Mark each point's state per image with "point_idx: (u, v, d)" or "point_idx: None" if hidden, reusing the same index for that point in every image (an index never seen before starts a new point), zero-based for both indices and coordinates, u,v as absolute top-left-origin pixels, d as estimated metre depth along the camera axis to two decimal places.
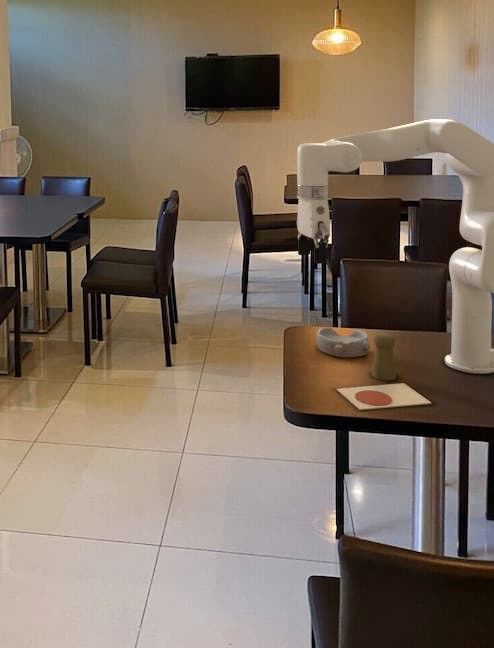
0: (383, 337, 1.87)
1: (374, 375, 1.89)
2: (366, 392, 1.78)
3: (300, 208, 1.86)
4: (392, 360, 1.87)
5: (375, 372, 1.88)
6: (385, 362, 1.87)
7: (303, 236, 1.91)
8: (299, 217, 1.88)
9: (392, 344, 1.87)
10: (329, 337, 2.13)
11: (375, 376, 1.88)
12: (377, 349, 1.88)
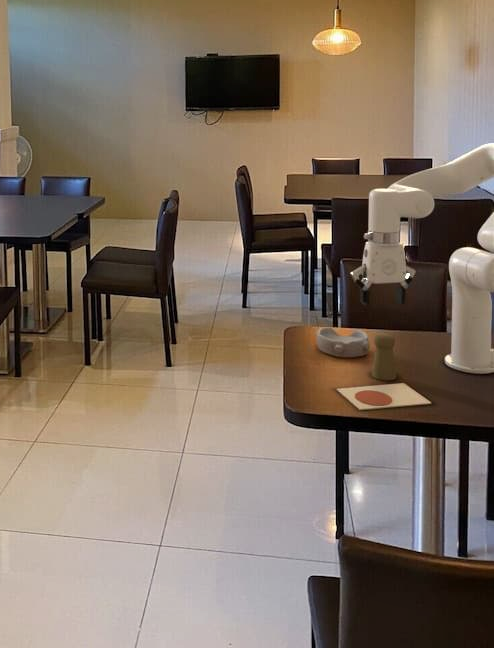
0: (383, 337, 1.87)
1: (374, 375, 1.89)
2: (366, 392, 1.78)
3: None
4: (392, 360, 1.87)
5: (375, 372, 1.88)
6: (385, 362, 1.87)
7: (400, 283, 1.89)
8: None
9: (392, 344, 1.87)
10: (329, 337, 2.13)
11: (375, 376, 1.88)
12: (377, 349, 1.88)
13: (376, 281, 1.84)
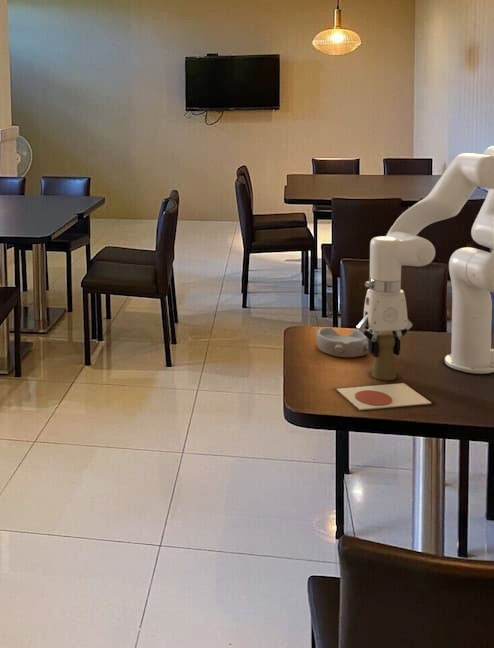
0: (383, 337, 1.87)
1: (374, 375, 1.89)
2: (366, 392, 1.78)
3: None
4: (392, 360, 1.87)
5: (375, 372, 1.88)
6: (385, 362, 1.87)
7: (395, 335, 1.89)
8: None
9: (392, 344, 1.87)
10: (329, 337, 2.13)
11: (375, 376, 1.88)
12: None
13: (378, 329, 1.85)
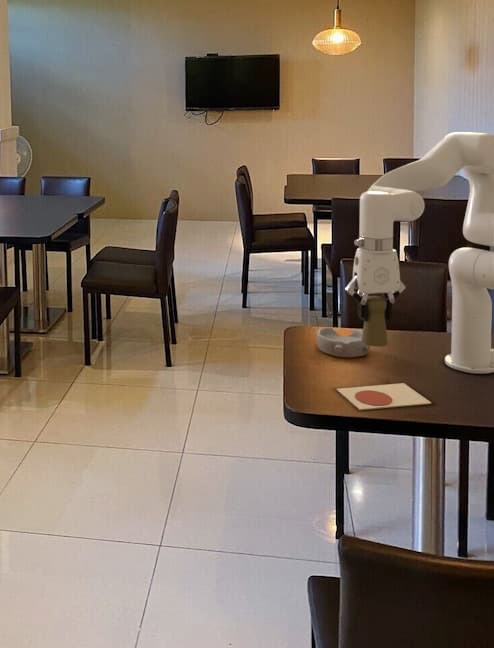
0: (373, 300, 1.73)
1: (364, 341, 1.74)
2: (366, 392, 1.78)
3: None
4: (383, 325, 1.73)
5: (364, 338, 1.74)
6: (376, 327, 1.72)
7: (386, 298, 1.75)
8: None
9: (383, 307, 1.72)
10: (329, 337, 2.13)
11: (365, 342, 1.74)
12: None
13: (368, 291, 1.71)
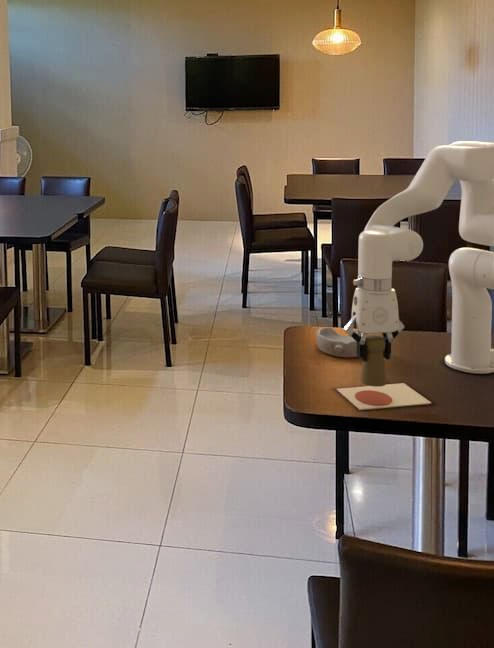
0: (372, 340, 1.72)
1: (363, 381, 1.74)
2: (366, 392, 1.78)
3: None
4: (382, 365, 1.73)
5: (363, 378, 1.74)
6: (375, 367, 1.72)
7: (385, 337, 1.75)
8: None
9: (382, 347, 1.72)
10: (329, 337, 2.13)
11: (364, 382, 1.74)
12: None
13: (366, 331, 1.71)
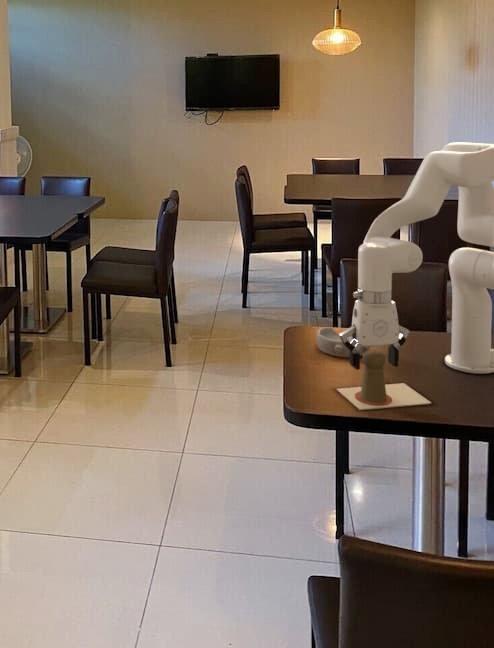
0: (372, 356, 1.73)
1: (363, 397, 1.74)
2: None
3: None
4: (382, 380, 1.73)
5: (363, 394, 1.74)
6: (375, 383, 1.72)
7: (393, 344, 1.75)
8: None
9: (382, 363, 1.72)
10: (329, 337, 2.13)
11: (364, 398, 1.74)
12: (366, 368, 1.74)
13: (367, 344, 1.71)
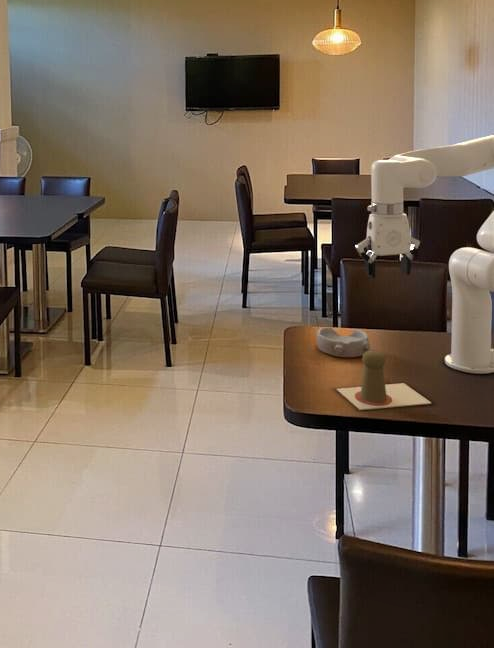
0: (372, 356, 1.73)
1: (363, 397, 1.74)
2: None
3: None
4: (382, 380, 1.73)
5: (363, 394, 1.74)
6: (375, 383, 1.72)
7: (405, 255, 1.87)
8: None
9: (382, 363, 1.72)
10: (329, 337, 2.13)
11: (364, 398, 1.74)
12: (366, 368, 1.74)
13: (381, 253, 1.83)
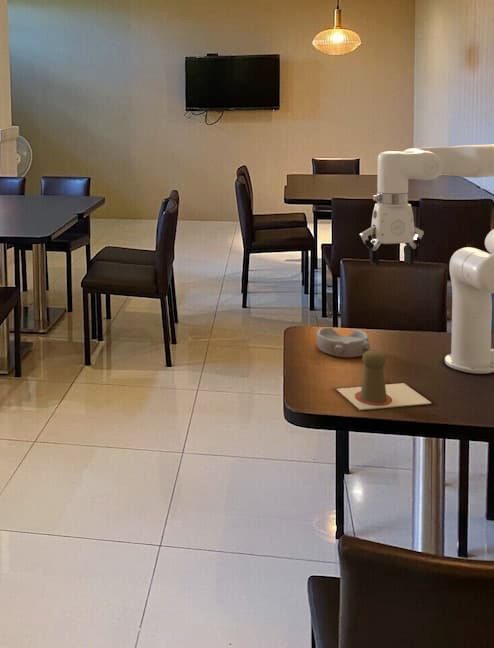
0: (372, 356, 1.73)
1: (363, 397, 1.74)
2: None
3: None
4: (382, 380, 1.73)
5: (363, 394, 1.74)
6: (375, 383, 1.72)
7: (408, 244, 1.93)
8: None
9: (382, 363, 1.72)
10: (329, 337, 2.13)
11: (364, 398, 1.74)
12: (366, 368, 1.74)
13: (385, 241, 1.88)
